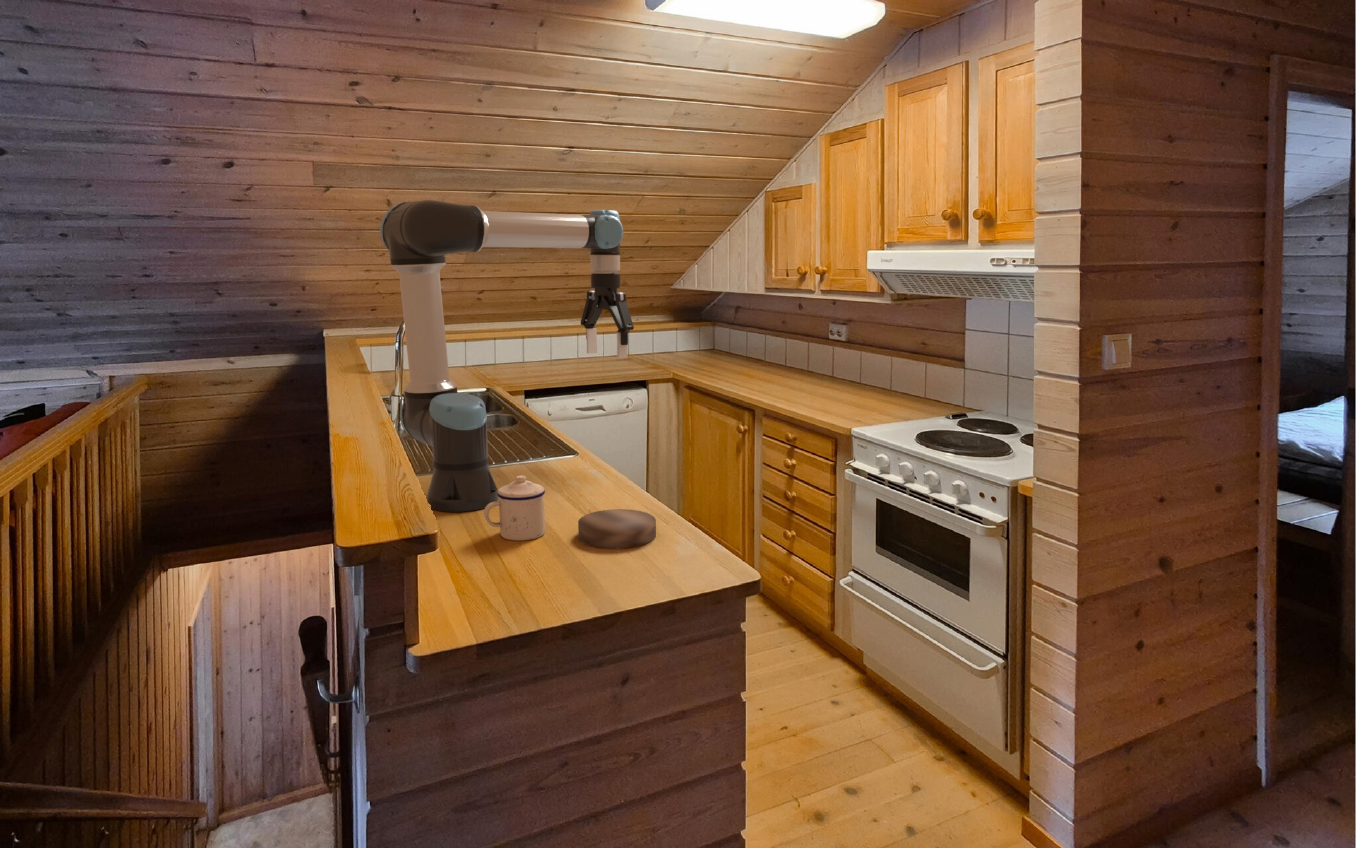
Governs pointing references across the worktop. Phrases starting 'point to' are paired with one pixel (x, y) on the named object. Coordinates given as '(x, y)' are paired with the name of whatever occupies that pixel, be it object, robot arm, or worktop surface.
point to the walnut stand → (617, 528)
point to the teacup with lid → (519, 510)
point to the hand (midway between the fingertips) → (606, 355)
